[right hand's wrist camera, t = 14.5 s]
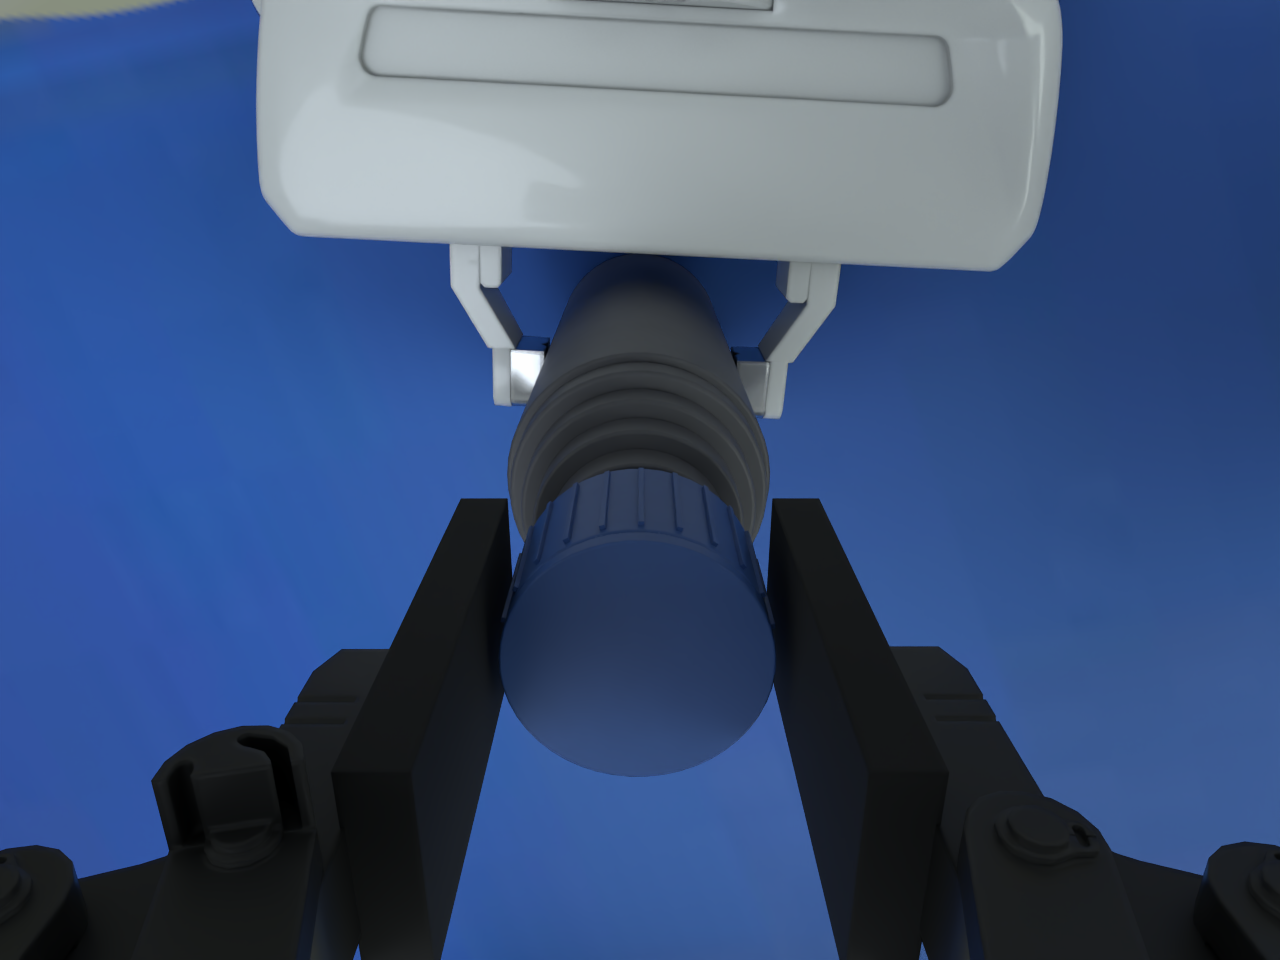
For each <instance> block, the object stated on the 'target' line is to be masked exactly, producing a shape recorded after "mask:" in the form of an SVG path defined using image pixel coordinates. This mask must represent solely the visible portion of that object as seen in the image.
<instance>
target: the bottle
mask: <svg viewBox="0 0 1280 960" xmlns="http://www.w3.org/2000/svg"><path fill="white" fill-rule="evenodd" d="M638 468H644V469H651V470H659V471H664V472H668V473H673V472H674V473H677V474H678V475H679V476H682V477H684V478H687V479H690V480H692V481H694V482H696V483H698V484H699V485H701V486H704V485H705V486H707V487H708V489H709V491H711V492H712V493H713V494H715V495H716V496H717V497H718V498H720V499H721V500H722V501H723V502H724V503H725V504H726V505H727V506H729V505H730V506H731V507H732V508H733V511H734V515H735V516H736V517H737V518H738V520H739V522H740V523H741V525H742V527H743V528H744V530H745V531H747V530H748V531H749V533H750V536H751V540H752V543H753V541H754V539H755V537H756V535H757V534H758V531H759V529H760V526H761V523H762V520H763V517H764V512H765V506H766V501H767V496H768V491H769V480H770V467H769V456H768V452H767V447H766V443H765V439H764V437H763V434H762V432H761V429H760V426H759V424H758V421H757V419H756V416H755V414H754V411H753V409H752V406H751V403H750V401H749V398H748V396H747V393H746V391H745V388H744V386H743V383H742V380H741V378H740V375H739V373H738V370H737V368H736V365H735V362H734V360H733V357H732V355H731V352H730V350H729V347H728V345H727V342H726V339H725V337H724V334H723V332H722V329H721V327H720V324H719V322H718V319H717V316H716V314H715V311H714V309H713V306H712V304H711V301H710V299H709V296H708V295H707V293H706V291H705V289H704V288H703V286H702V285H701V284H700V282H699V281H698V280H697V279H696V278H695V277H694V276H693V275H692V274H691V273H690V272H689V271H688V270H686V269H685V268H684V267H682V266H681V265H679V264H677V263H675V262H674V261H671V260H669V259H666V258H664V257H660V256H656V255H651V254H628V255H622V256H619V257H615V258H612V259H610V260H608V261H605V262H603V263H602V264H600V265H598V266H597V267H595V268H594V269H593V270H591V271H590V272H589V273H588V274H587V275H586V276H585V277H584V278H583V279H582V280H581V281H580V282H579V284H578V285H577V286H576V288H575V289H574V291H573V293H572V295H571V297H570V298H569V301H568V303H567V306H566V308H565V311H564V313H563V316H562V318H561V321H560V323H559V326H558V328H557V330H556V333H555V335H554V338H553V340H552V343H551V345H550V348H549V350H548V353H547V355H546V358H545V360H544V362H543V365H542V367H541V370H540V372H539V375H538V377H537V380H536V382H535V385H534V387H533V390H532V392H531V395H530V397H529V399H528V402H527V404H526V407H525V409H524V412H523V414H522V417H521V419H520V422H519V424H518V427H517V429H516V432H515V435H514V437H513V440H512V444H511V448H510V453H509V457H508V470H507V476H508V490H509V495H510V499H511V506H512V511H513V516H514V520H515V522H516V525H517V528H518V531H519V533H520V535H521V537H522V539H523V541H524V543H525V540H526V537H527V533H528V529H529V527H530V526H533V527H534V525H535V523H536V522H537V520H538V518H539V517H540V516H541V514H542V513H543V512H544V511H545V509H546V507H547V504H548V503H549V502H550V501H551V502H553V501H554V500H555V499H556V498H557V497H558V496H560V495H561V494H563V493H564V492H565V491H567V490H568V489H569V488H571V487H573V484H574V483H576V482H578V483H580V482H582V481H584V480H586V479H589V478H591V477H594V476H596V475H599V474H603V473H604V472H605V471H610V472H611V471H617V470H625V469H638Z"/></svg>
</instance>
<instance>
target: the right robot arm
mask: <svg viewBox="0 0 1280 960" xmlns="http://www.w3.org/2000/svg"><path fill="white" fill-rule="evenodd" d="M511 582H512V565H511V548H510V532H509V515H508V499H461V500H460V502H459V504H458V506H457V508H456V510H455V512H454V514H453V517H452V519H451V521H450V523H449V525H448V527H447V529H446V531H445V533H444V535H443V538H442V540H441V542H440V544H439V546H438V548H437V550H436V552H435V554H434V556H433V559H432V561H431V563H430V565H429V567H428V569H427V571H426V573H425V575H424V577H423V580H422V582H421V584H420V586H419V588H418V590H417V592H416V594H415V596H414V598H413V600H412V603H411V605H410V607H409V609H408V611H407V613H406V615H405V617H404V619H403V621H402V624H401V626H400V628H399V630H398V632H397V634H396V636H395V638H394V640H393V642H392V645H391V647H390V649H341V650H340V651H339V652H338V653H336V654H335V655H334V656H332V657H331V658H330V659H329V660H327V661H326V662H325V663H323V664H322V665H321V666H319V667H318V668H317V669H316V670H314V671H313V672H312V674H311V676H310V677H309V679H308V681H307V682H306V684H305V686H304V688H303V689H302V691H301V693H300V694H299V696H298V701H297V702H295V703H294V704H293V706H292V708H291V709H290V711H289V713H288V714H287V716H286V718H285V724H281V726H280V728H276V727H272V726H240V727H236V728H231V729H227V730H223V731H219V732H214V733H212V734H210V735H208V736H205V737H203V738H201V739H199V740H197V741H195V742H192V743H190V744H188V745H186V746H185V747H184V748H182V749H181V750H180V751H178V752H177V753H176V754H174V755H173V756H172V757H170V758H169V759H168V760H166V761H165V762H164V763H163V765H162V766H161V768H160V769H159V770H158V772H157V773H156V775H155V776H154V777H153V779H152V780H151V782H152V786H153V790H154V794H155V798H156V801H157V805H158V809H159V813H160V817H161V821H162V825H163V828H164V832H165V836H166V840H167V844H168V848H169V853H168V855H167V856H165V857H162V858H159V859H156V860H152V861H149V862H146V863H143V864H139V865H135V866H131V867H127V868H122V869H118V870H114V871H110V872H106V873H101V874H97V875H93V876H89V877H85V878H80V879H78V878H77V875H76V872H75V868H74V865H73V862H72V861H71V860H70V859H69V858H68V857H67V856H66V855H65V854H64V853H62V852H61V851H60V850H59V849H54V848H49V847H44V846H38V845H33V846H25V847H17V848H9V849H4V850H2V851H0V960H353V958H354V955H355V952H356V949H357V946H358V943H359V949H360V956H361V960H441V955H442V951H443V947H444V943H445V939H446V934H447V930H448V926H449V922H450V918H451V913H452V909H453V905H454V901H455V897H456V892H457V888H458V884H459V880H460V876H461V871H462V867H463V863H464V859H465V855H466V851H467V846H468V842H469V838H470V834H471V830H472V825H473V821H474V817H475V813H476V809H477V804H478V800H479V796H480V792H481V788H482V783H483V779H484V775H485V771H486V767H487V762H488V758H489V754H490V750H491V746H492V741H493V737H494V733H495V729H496V725H497V721H498V716H499V712H500V708H501V704H502V700H503V695H504V689H503V685H502V681H501V677H500V671H499V645H500V639H501V635H502V630H503V626H504V623H503V622H501V617H502V614H503V610H504V607H505V603H506V600H507V596H508V592H509V589H510V585H511ZM767 596H768V600H769V603H770V607H771V611H772V615H773V618H774V622H775V628H774V629H772V631H773V635H774V639H775V646H776V656H777V657H776V672H775V677H774V681H773V683H774V687H775V691H776V695H777V700H778V704H779V708H780V712H781V716H782V720H783V725H784V729H785V733H786V737H787V741H788V746H789V750H790V754H791V758H792V762H793V767H794V771H795V775H796V779H797V783H798V788H799V792H800V796H801V800H802V804H803V809H804V813H805V817H806V821H807V825H808V830H809V834H810V838H811V842H812V846H813V850H814V855H815V859H816V863H817V867H818V871H819V876H820V880H821V884H822V888H823V892H824V897H825V901H826V905H827V909H828V913H829V918H830V922H831V926H832V930H833V934H834V939H835V943H836V947H837V951H838V955H839V960H919V956H920V949H921V943H922V942H923V945H924V948H925V951H926V954H927V956H928V959H929V960H1280V847H1279V846H1276V845H1269V844H1261V843H1253V842H1240V843H1235V844H1229V845H1224V846H1221V847H1220V848H1219V849H1218V850H1217V851H1216V852H1215V853H1214V854H1213V855H1211V856H1210V857H1209V859H1208V862H1207V865H1206V868H1205V872H1204V875H1203V876H1202V875H1198V874H1194V873H1190V872H1185V871H1181V870H1177V869H1173V868H1168V867H1164V866H1160V865H1156V864H1152V863H1147V862H1143V861H1139V860H1136V859H1133V858H1130V857H1126V856H1123V855H1120V854H1117V853H1114V852H1112V851H1111V849H1110V847H1109V846H1108V844H1107V843H1106V841H1105V839H1104V838H1103V836H1102V835H1101V833H1100V831H1099V830H1098V829H1097V828H1096V827H1095V826H1094V825H1092V824H1091V823H1090V822H1089V821H1088V820H1087V819H1085V818H1084V817H1083V816H1082V815H1081V814H1080V813H1078V812H1077V811H1075V810H1073V809H1071V808H1069V807H1067V806H1065V805H1063V804H1061V803H1059V802H1057V801H1056V800H1054V799H1052V798H1048V797H1044V796H1043V794H1042V792H1041V791H1040V789H1039V787H1038V786H1037V784H1036V782H1035V781H1034V779H1033V777H1032V776H1031V774H1030V772H1029V771H1028V769H1027V767H1026V766H1025V764H1024V762H1023V761H1022V759H1021V757H1020V756H1019V754H1018V752H1017V751H1016V749H1015V747H1014V746H1013V744H1012V742H1011V741H1010V739H1009V737H1008V736H1007V734H1006V732H1005V731H1004V729H1003V727H1002V726H1001V724H1000V722H999V721H996V716H995V714H994V712H993V711H992V709H991V707H990V706H989V704H988V702H987V701H986V700H983V694H982V692H981V691H980V689H979V687H978V686H977V684H976V682H975V681H974V679H973V677H972V676H971V674H970V672H969V671H968V669H967V668H966V667H965V666H963V665H962V664H961V663H959V662H958V661H957V660H955V659H954V658H953V657H952V656H950V655H949V654H948V653H946V652H945V651H944V650H942V649H941V648H940V647H889V645H888V642H887V640H886V638H885V636H884V634H883V632H882V630H881V628H880V626H879V624H878V621H877V619H876V617H875V615H874V613H873V611H872V609H871V607H870V605H869V603H868V600H867V598H866V596H865V594H864V592H863V590H862V588H861V586H860V584H859V582H858V579H857V577H856V575H855V573H854V571H853V569H852V567H851V565H850V563H849V561H848V558H847V556H846V554H845V552H844V550H843V548H842V546H841V544H840V542H839V540H838V538H837V535H836V533H835V531H834V529H833V527H832V525H831V523H830V521H829V519H828V517H827V514H826V512H825V510H824V508H823V506H822V504H821V502H820V500H819V499H772V515H771V532H770V548H769V565H768V581H767Z"/></svg>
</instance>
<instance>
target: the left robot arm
mask: <svg viewBox="0 0 1280 960" xmlns="http://www.w3.org/2000/svg"><path fill="white" fill-rule="evenodd" d="M251 1H252V3H253V5H254V8H255V10H256V12H257V13H258V15H259V16H260V23H259V36H258V55H257V82H256V125H257V154H258V171H259V183H260V188H261V192H262V195H263V197H264V199H265V200H266V202H267V203H268V204H269V206H270V207H271V208H272V209H273V210H274V212H275V213H276V214H277V215H278V217H279V218H280V219H281V220H282V221H283V223H284V224H285V225H286V226H287V227H288V228H289V229H290V230H291V231H292V232H293V233H294V234H296V235H299V236H306V237H323V238H343V239H362V240H382V241H401V242H421V243H440V244H450V276H451V287H452V289H453V291H454V292H455V294H456V296H457V297H458V299H459V301H460V302H461V304H462V306H463V307H464V309H465V311H466V312H467V314H468V315H469V317H470V319H471V320H472V322H473V324H474V325H475V327H476V329H477V330H478V332H479V334H480V335H481V337H482V339H483V340H484V342H485V344H486V345H487V347H488V348H493V399H494V403H495V405H501V406H526V404H527V402H528V399H529V397H530V395H531V392H532V390H533V387H534V385H535V382H536V380H537V377H538V375H539V372H540V370H541V367H542V365H543V362H544V360H545V358H546V355H547V353H548V350H549V348H550V338H548V337H534V336H522V335H523V333H522V332H521V330H520V328H519V326H518V324H517V322H516V320H515V319H514V317H513V315H512V313H511V311H510V309H509V308H508V306H507V304H506V302H505V300H504V298H503V296H502V295H501V293H500V291H499V289H498V287H499V286H500V285H501V283H502V282H503V281H504V280H505V279H506V278H507V277H508V276H509V275H510V273H511V272H512V247H518V248H538V249H558V250H577V251H597V252H616V253H636V254H655V255H675V256H694V257H714V258H733V259H753V260H772V261H778V264H777V275H776V287H777V288H778V289H779V290H780V292H781V293H782V294H783V295H784V296H785V298H786V299H787V300H788V302H787V304H786V305H785V307H784V308H783V310H782V311H781V312H780V314H779V315H778V317H777V318H776V320H775V321H774V323H773V324H772V326H771V327H770V329H769V330H768V332H767V333H766V335H765V336H764V337H763V339H762V340H761V342H760V343H759V345H758V347H731V355H732V357H733V360H734V362H735V365H736V368H737V370H738V373H739V375H740V378H741V380H742V383H743V386H744V388H745V391H746V393H747V396H748V398H749V401H750V403H751V406H752V409H753V411H754V414H755V416H756V418H769V419H779V418H780V417H781V414H782V410H783V402H784V394H785V385H786V377H787V368H788V363H793V361H794V360H795V359H796V357H797V356H798V355H799V354H800V352H801V351H802V350H803V348H804V347H805V346H806V344H807V343H808V342H809V340H810V339H811V338H812V336H813V335H814V334H815V332H816V331H817V330H818V328H819V327H820V326H821V324H822V323H823V322H824V320H825V319H826V318H827V316H828V315H829V314H830V313H831V311H832V310H833V309H834V307H835V304H836V297H837V290H838V283H839V276H840V268H841V264H851V265H870V266H890V267H909V268H929V269H948V270H969V271H995V270H997V269H999V268H1001V267H1002V266H1003V265H1004V264H1005V263H1006V262H1007V261H1009V260H1010V259H1011V258H1012V257H1013V256H1014V254H1015V253H1016V252H1017V251H1018V250H1019V249H1020V248H1021V247H1022V246H1023V245H1024V244H1025V243H1026V242H1027V241H1028V240H1029V239H1030V238H1031V236H1032V234H1033V233H1034V231H1035V228H1036V226H1037V223H1038V219H1039V216H1040V212H1041V208H1042V204H1043V199H1044V194H1045V189H1046V184H1047V178H1048V172H1049V166H1050V161H1051V154H1052V147H1053V140H1054V133H1055V125H1056V117H1057V108H1058V99H1059V88H1060V75H1061V62H1062V46H1063V32H1062V18H1061V10H1060V5H1059V1H1058V0H251Z"/></svg>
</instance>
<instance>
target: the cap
mask: <svg viewBox="0 0 1280 960" xmlns="http://www.w3.org/2000/svg"><path fill="white" fill-rule="evenodd" d="M501 622H503V623H504V626H503V630H502V635H501V639H500V645H499V671H500V677H501V681H502V685H503V689H504V691H505V694H506V697H507V699H508V702H509V704H510V705H511V707H512V709H513V711H514V712H515V714H516V716H517V718H518V719H519V720H520V721H521V723H522V724H523V725H524V727H525V728H526V729H527V730H528V731H529V732H530V733H531V734H532V735H533V736H534V737H535V738H536V739H537V740H538V741H539V742H540V743H542V744H543V745H544V746H545V747H547V748H548V749H549V750H551V751H552V752H554V753H555V754H557V755H559V756H560V757H562V758H564V759H566V760H568V761H570V762H572V763H574V764H577V765H579V766H581V767H584V768H587V769H591V770H594V771H597V772H602V773H606V774H611V775H619V776H629V777H645V776H656V775H664V774H669V773H674V772H678V771H682V770H685V769H688V768H691V767H694V766H697V765H699V764H701V763H703V762H705V761H708V760H710V759H712V758H713V757H715V756H717V755H718V754H720V753H722V752H723V751H725V750H726V749H727V748H729V747H730V746H731V745H733V744H734V743H735V742H736V741H738V740H739V739H740V738H741V737H742V736H743V735H744V734H745V733H746V732H747V730H748V729H749V728H750V727H751V726H752V724H753V723H754V722H755V720H756V719H757V718H758V716H759V715H760V713H761V711H762V709H763V708H764V706H765V704H766V702H767V700H768V697H769V694H770V692H771V689H772V686H773V681H774V677H775V672H776V657H777V656H776V646H775V639H774V635H773V631H772V629H774V628H775V622H774V618H773V615H772V611H771V607H770V603H769V600H768V596H767V592H766V588H765V585H764V581H763V577H762V573H761V570H760V566H759V562H758V559H756V555H755V551H754V548H753V544H752V540H751V536H750V533H749V531H748V530H747V531H745V530H744V528H743V527H742V525H741V523H740V522H739V520H738V518H737V517H736V516H735V515H734V511H733V508H732V507H731V506H730V505H729V506H727V505H726V504H725V503H724V502H723V501H722V500H721V499H720V498H718V497H717V496H716V495H715V494H713V493H712V492H711V491H709V489H708V487H707V486H705V485H704V486H701V485H699V484H698V483H696V482H694V481H692V480H690V479H687V478H684V477H682V476H679V475H678V474H677V473H674V472H673V473H668V472H664V471H659V470H651V469H644V468H638V469H625V470H617V471H611V472H610V471H605V472H604V473H603V474H599V475H596V476H594V477H591V478H589V479H586V480H584V481H582V482H580V483H578V482H576V483H574V484H573V487H571V488H569V489H568V490H567V491H565V492H564V493H563V494H561V495H560V496H558V497H557V498H556V499H555V500H554V501H553V502H551V501H550V502H549V503H548V504H547V507H546V509H545V511H544V512H543V513H542V514H541V516H540V517H539V518H538V520H537V522H536V523H535V525H534V527H533V526H530V527H529V529H528V533H527V537H526V540H525V544H524V548H523V551H522V553H520V554H519V557H518V560H517V564H516V568H515V571H514V575H513V578H512V582H511V585H510V589H509V592H508V596H507V600H506V603H505V607H504V610H503V614H502V617H501Z"/></svg>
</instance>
